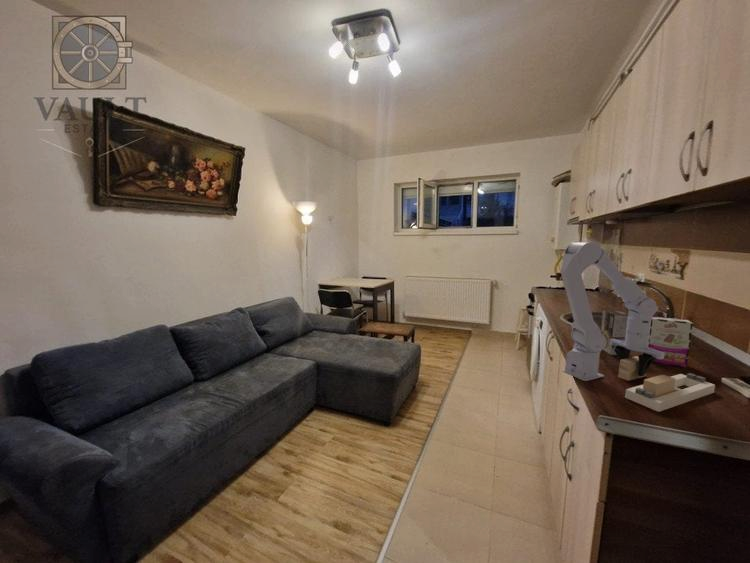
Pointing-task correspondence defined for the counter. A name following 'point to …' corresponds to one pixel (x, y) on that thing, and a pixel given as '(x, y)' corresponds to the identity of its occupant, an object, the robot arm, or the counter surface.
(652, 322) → the candy bar box
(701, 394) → the white block holder
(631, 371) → the beige rectangular block
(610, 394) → the counter surface
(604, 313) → the coffee box
